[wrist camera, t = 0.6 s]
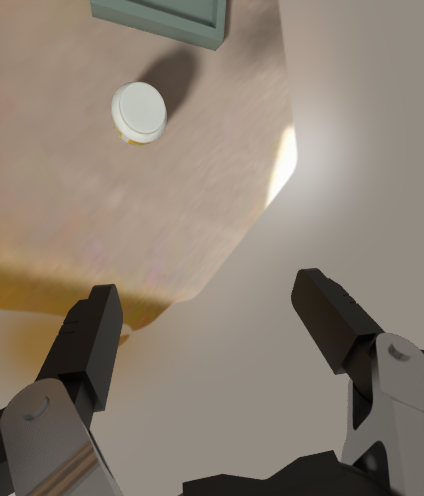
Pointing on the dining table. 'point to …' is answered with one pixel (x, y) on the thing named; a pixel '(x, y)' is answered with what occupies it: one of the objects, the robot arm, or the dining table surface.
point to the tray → (169, 18)
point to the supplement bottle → (138, 113)
